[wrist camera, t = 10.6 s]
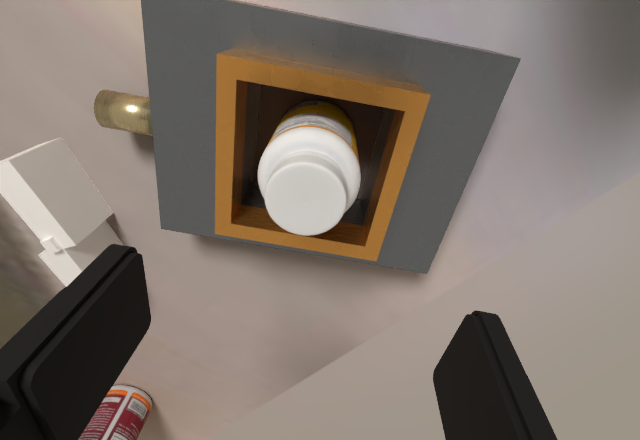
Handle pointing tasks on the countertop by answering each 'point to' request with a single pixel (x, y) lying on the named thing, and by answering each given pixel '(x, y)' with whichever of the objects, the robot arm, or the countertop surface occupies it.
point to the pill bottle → (119, 415)
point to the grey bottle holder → (316, 78)
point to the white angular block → (58, 206)
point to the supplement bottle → (310, 168)
